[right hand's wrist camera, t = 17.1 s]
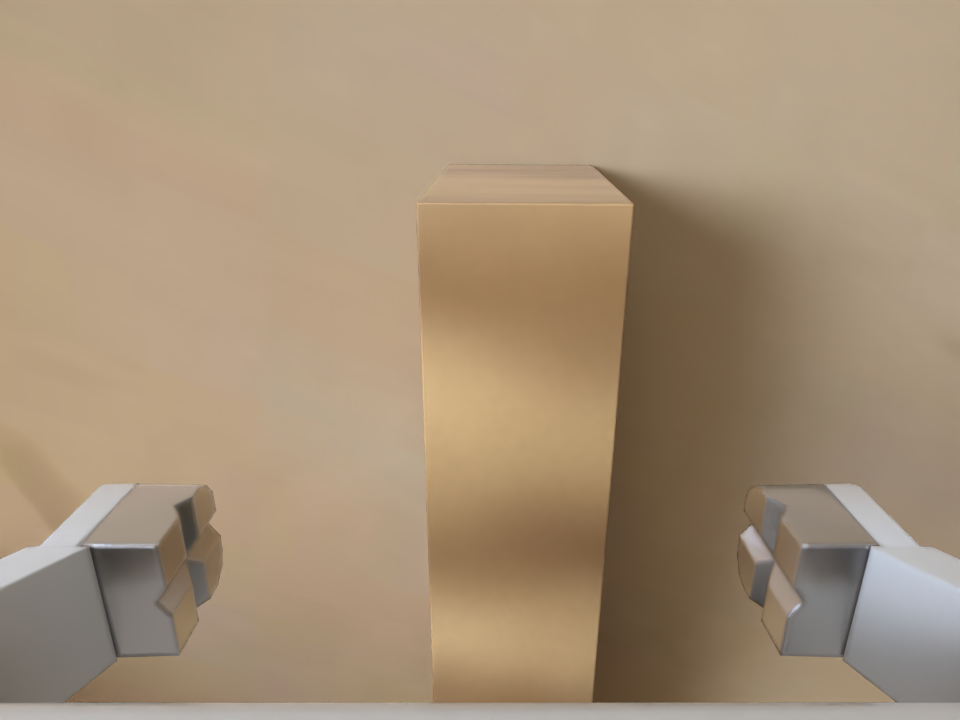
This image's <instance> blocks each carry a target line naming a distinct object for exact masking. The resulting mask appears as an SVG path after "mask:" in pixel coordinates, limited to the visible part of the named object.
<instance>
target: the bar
mask: <svg viewBox="0 0 960 720" xmlns="http://www.w3.org/2000/svg"><path fill="white" fill-rule="evenodd" d="M633 214H634V204H633V203H632V202H631V201H630V200H629V199H628V198H627V197H626V196H624V195H623V194H622V193H621V192H620V191H619V190H618V189H617V188H616V187H615V186H614V185H613V184H612V183H610V182H609V181H608V180H607V179H606V178H605V177H604V176H603V175H602V174H601V173H600V172H599V171H597V170H596V169H595V168H594V167H593V166H592V165H449V166H448V167H447V168H446V169H445V170H444V171H443V173H442V174H441V175H440V176H439V177H438V178H437V180H436V181H435V182H434V183H433V184H432V185H431V187H430V188H429V189H428V190H427V191H426V192H425V194H424V195H423V196H422V197H421V198H420V199H419V201H418V202H417V203H416V216H417V245H418V273H419V302H420V330H421V359H422V387H423V415H424V444H425V472H426V501H427V529H428V558H429V586H430V615H431V643H432V672H433V700H434V703H593V692H594V680H595V668H596V656H597V644H598V632H599V620H600V609H601V597H602V585H603V573H604V561H605V549H606V537H607V525H608V513H609V501H610V489H611V477H612V465H613V453H614V441H615V429H616V417H617V405H618V394H619V382H620V370H621V358H622V346H623V334H624V322H625V310H626V298H627V286H628V274H629V262H630V250H631V238H632V226H633Z"/></svg>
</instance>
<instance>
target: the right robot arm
mask: <svg viewBox="0 0 960 720" xmlns="http://www.w3.org/2000/svg"><path fill="white" fill-rule="evenodd" d="M215 511H216V507H215V502H214V497H213V492H212V490H211V489H210V488H209V487H208V486H207V485H183V484H138V483H120V484H106V485H101V486H100V487H99V488H98V489H97V490H96V491H95V492H94V493H93V494H92V495H91V496H90V497H89V498H88V499H87V500H86V501H85V502H84V503H83V504H82V505H81V506H80V507H79V508H78V509H77V510H76V511H75V512H74V513H73V514H72V515H71V516H70V517H69V518H68V519H67V520H66V521H65V522H64V523H63V524H62V525H61V526H60V527H59V528H58V529H57V530H56V531H55V532H54V533H53V534H52V535H51V536H50V537H49V538H48V539H47V540H45V541H44V542H43V543H42V544H41V545H40V546H28V547H26V548H24V549H22V550H19V551H17V552H15V553H13V554H10V555H8V556H6V557H4V558H1V559H0V720H960V559H959V558H956V557H954V556H952V555H950V554H947V553H945V552H943V551H941V550H938V549H936V548H934V547H932V546H920V545H919V544H918V543H917V542H916V541H915V540H914V539H913V538H912V537H911V536H910V535H909V534H908V533H907V532H906V531H905V530H904V529H903V528H902V527H901V526H900V525H899V524H898V523H897V522H896V521H895V520H894V519H893V518H892V517H891V516H890V515H889V514H888V513H887V512H886V511H885V510H884V509H883V508H882V507H880V506H879V505H878V504H877V503H876V502H875V501H874V500H873V499H872V498H871V497H870V496H869V495H868V494H867V493H866V492H865V491H864V490H863V489H862V488H861V487H860V486H858V485H855V484H853V483H837V484H807V485H767V486H751V487H750V489H749V491H748V493H747V495H746V500H745V506H744V512H745V513H746V515H747V516H748V518H749V519H750V521H751V524H750V525H749V526H748V527H747V528H746V529H745V530H744V531H743V532H742V533H741V534H740V536H739V544H738V552H737V558H738V569H739V575H740V578H741V581H742V585H743V587H744V589H745V591H746V593H747V595H748V597H749V599H751V600H752V601H754V602H755V603H757V604H759V605H760V606H762V607H763V614H762V619H761V621H762V623H763V625H764V626H765V628H766V630H767V632H768V634H769V635H770V637H771V639H772V641H773V643H774V644H775V646H776V648H777V650H778V652H779V653H780V655H781V656H815V657H843V661H844V662H846V663H847V664H848V665H849V666H851V667H852V668H853V669H855V670H856V671H857V672H858V673H860V674H861V675H862V676H863V677H865V678H866V679H867V680H869V681H870V682H871V683H872V684H874V685H875V686H876V687H877V688H879V689H880V690H881V691H883V692H884V693H885V694H886V695H888V696H889V697H890V698H891V699H893V700H894V701H895V702H897V703H64V702H65V701H66V700H67V699H69V698H70V697H71V696H73V695H74V694H75V693H76V692H78V691H79V690H80V689H81V688H83V687H84V686H85V685H87V684H88V683H89V682H90V681H92V680H93V679H94V678H95V677H97V676H98V675H99V674H101V673H102V672H103V671H104V670H106V669H107V668H108V667H110V666H111V665H112V664H113V663H115V662H116V661H117V657H144V656H179V655H180V654H181V652H182V650H183V648H184V646H185V644H186V643H187V641H188V639H189V637H190V635H191V634H192V632H193V630H194V628H195V626H196V625H197V623H198V621H199V619H198V614H197V607H198V606H200V605H201V604H203V603H205V602H206V601H208V600H209V599H211V597H212V595H213V593H214V591H215V589H216V587H217V585H218V582H219V577H220V573H221V569H222V551H223V549H222V543H221V536H220V534H219V533H218V532H217V531H216V530H215V529H214V528H213V527H212V526H211V525H210V524H209V521H210V519H211V518H212V516H213V515H214V513H215Z"/></svg>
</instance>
